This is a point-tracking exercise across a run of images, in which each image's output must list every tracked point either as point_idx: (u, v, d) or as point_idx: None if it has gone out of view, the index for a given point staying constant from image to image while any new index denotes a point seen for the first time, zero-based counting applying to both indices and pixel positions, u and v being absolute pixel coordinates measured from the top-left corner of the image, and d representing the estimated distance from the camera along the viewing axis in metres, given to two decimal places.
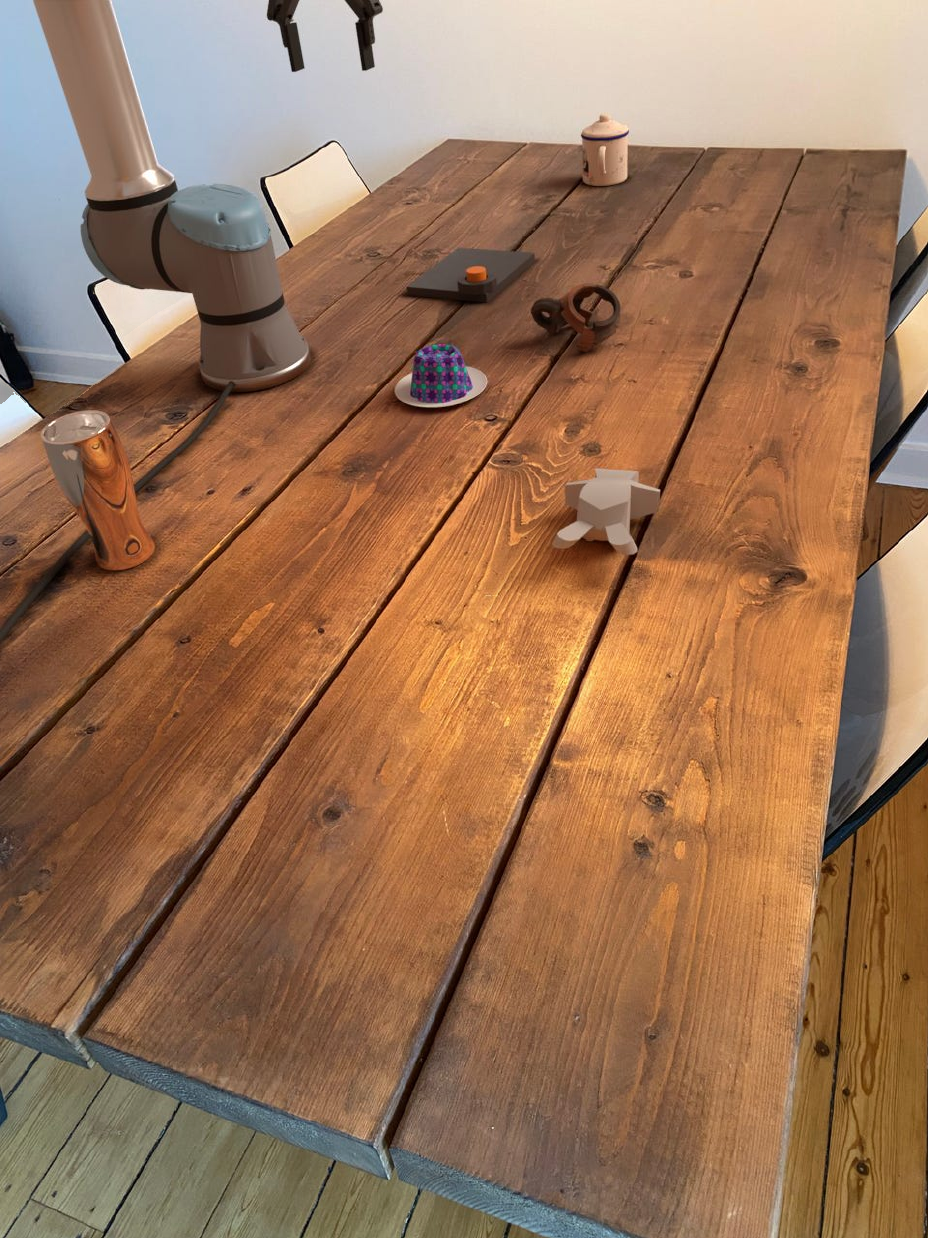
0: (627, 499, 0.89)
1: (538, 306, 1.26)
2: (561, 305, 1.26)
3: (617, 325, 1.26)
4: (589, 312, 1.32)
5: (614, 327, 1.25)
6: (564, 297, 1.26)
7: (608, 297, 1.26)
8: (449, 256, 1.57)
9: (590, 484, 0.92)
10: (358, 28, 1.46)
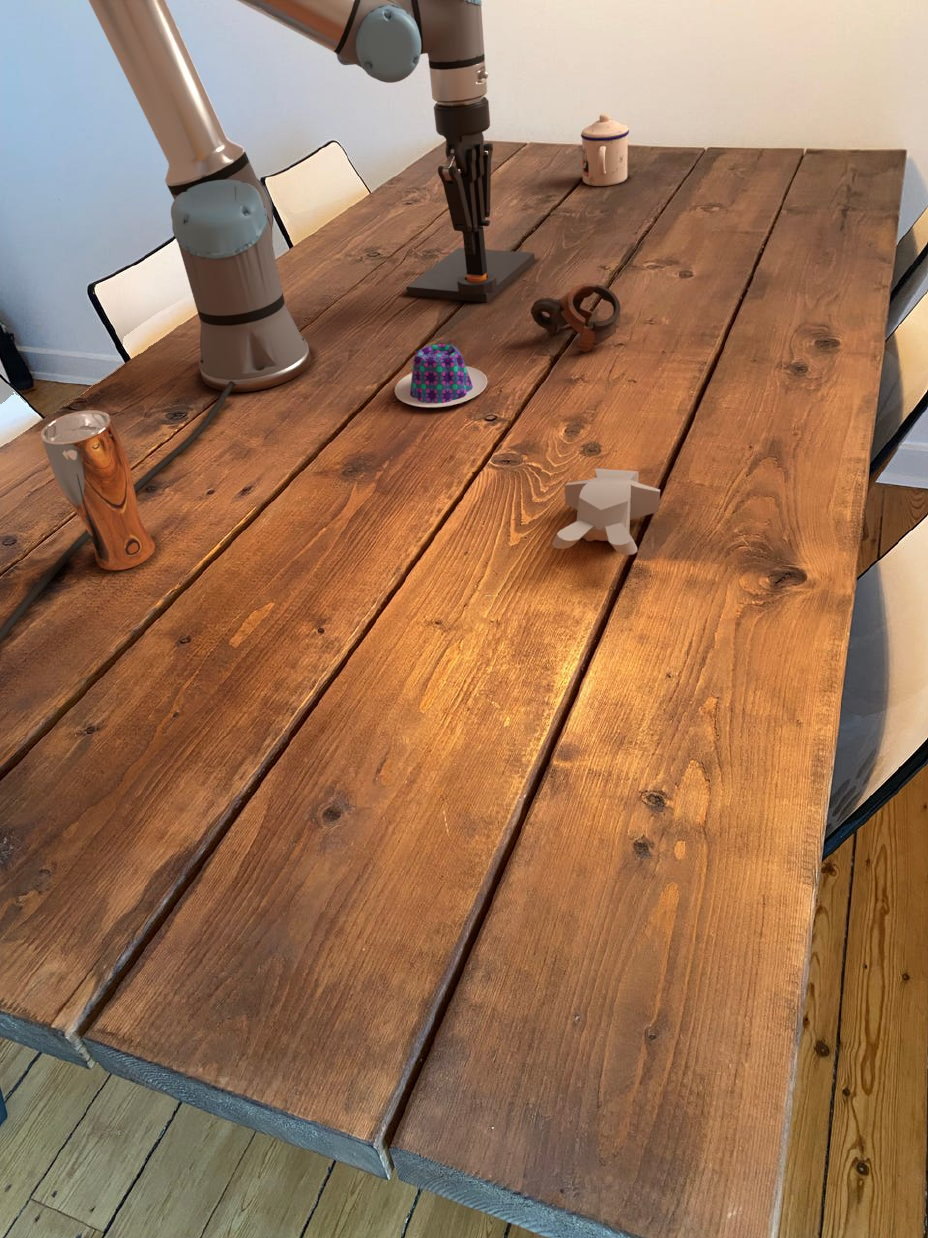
0: (627, 499, 0.89)
1: (538, 306, 1.26)
2: (561, 305, 1.26)
3: (617, 325, 1.26)
4: (589, 312, 1.32)
5: (614, 327, 1.25)
6: (564, 297, 1.26)
7: (608, 297, 1.26)
8: (449, 256, 1.57)
9: (590, 484, 0.92)
10: None
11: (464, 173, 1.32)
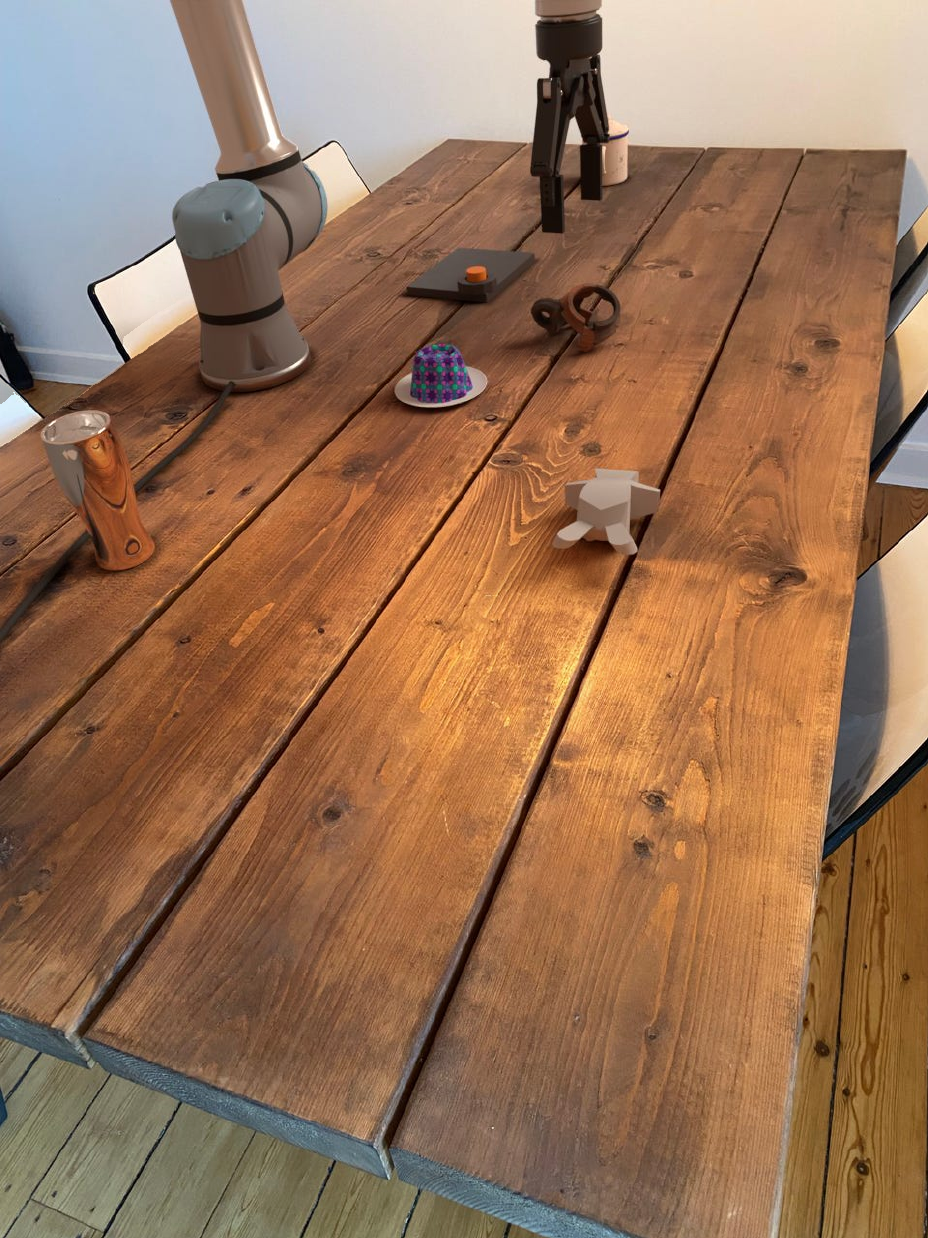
0: (627, 499, 0.89)
1: (538, 306, 1.26)
2: (561, 305, 1.26)
3: (617, 325, 1.26)
4: (589, 312, 1.32)
5: (614, 327, 1.25)
6: (564, 297, 1.26)
7: (608, 297, 1.26)
8: (449, 256, 1.57)
9: (590, 484, 0.92)
10: (540, 182, 1.12)
11: None
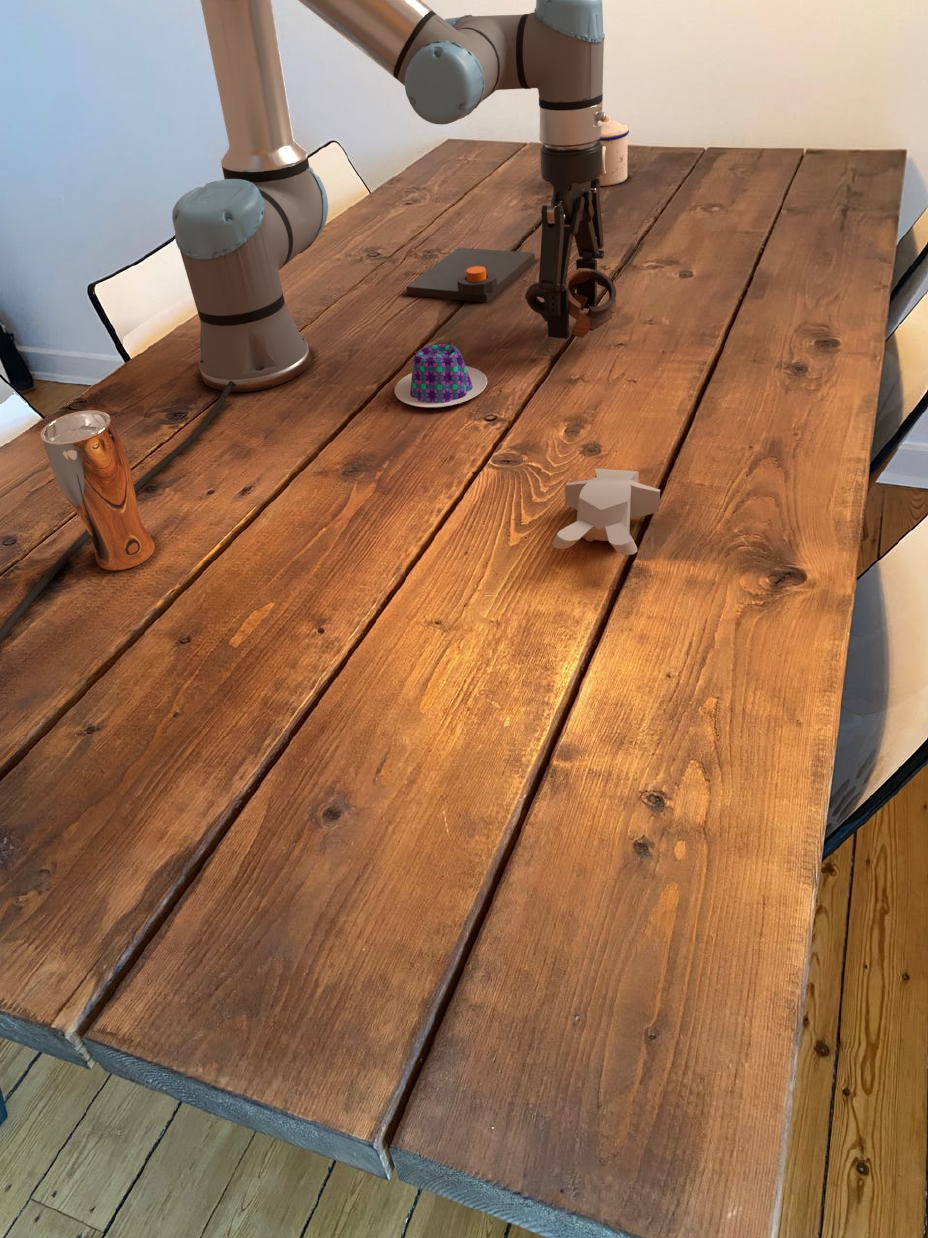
0: (627, 499, 0.89)
1: (533, 291, 1.25)
2: None
3: (612, 311, 1.24)
4: (584, 297, 1.30)
5: (610, 313, 1.24)
6: None
7: (604, 282, 1.25)
8: (449, 256, 1.57)
9: (590, 484, 0.92)
10: (547, 293, 1.22)
11: (570, 224, 1.18)
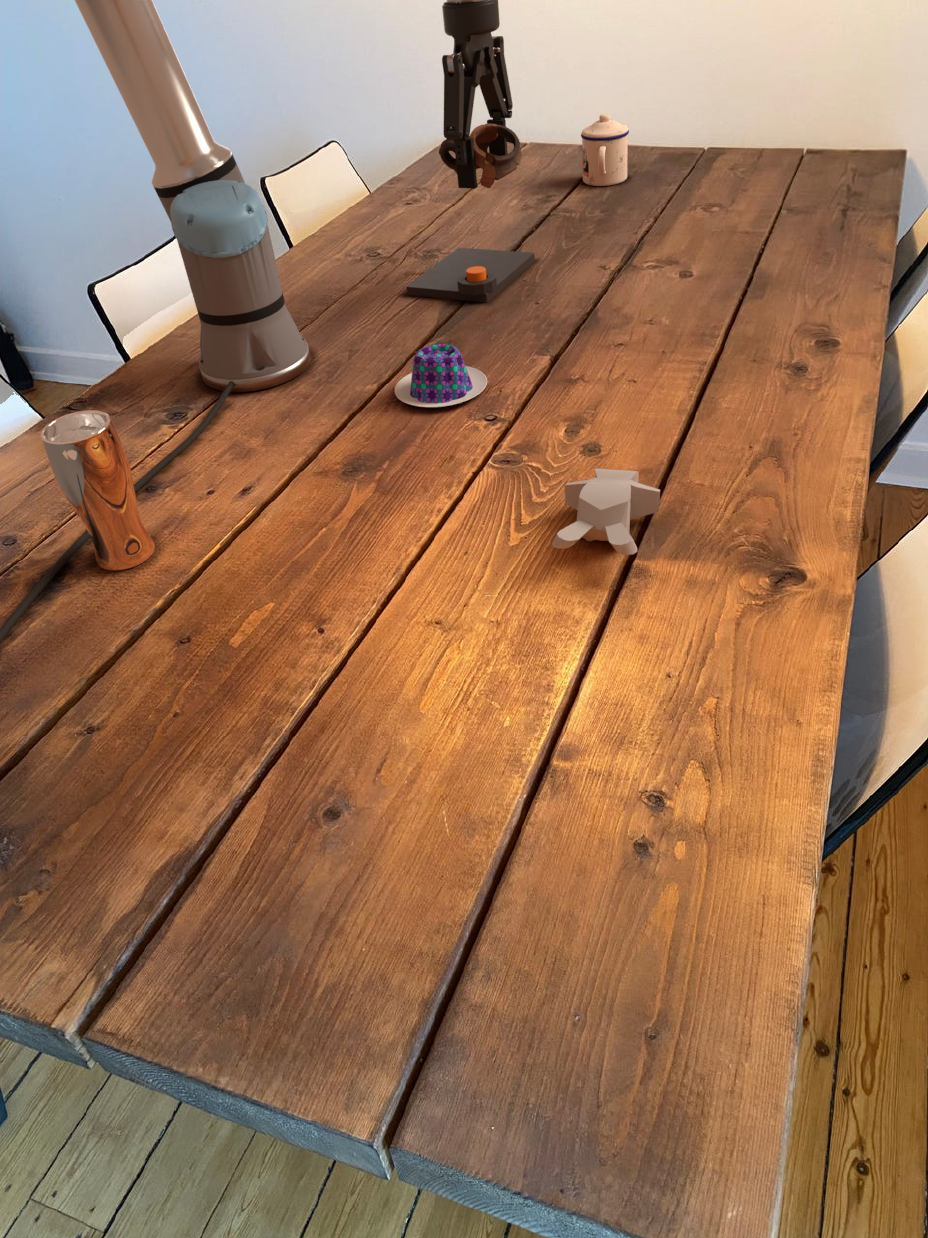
0: (627, 499, 0.89)
1: (444, 145, 1.36)
2: None
3: (517, 162, 1.36)
4: None
5: (514, 163, 1.35)
6: (469, 137, 1.36)
7: (509, 136, 1.36)
8: (449, 256, 1.57)
9: (590, 484, 0.92)
10: None
11: None
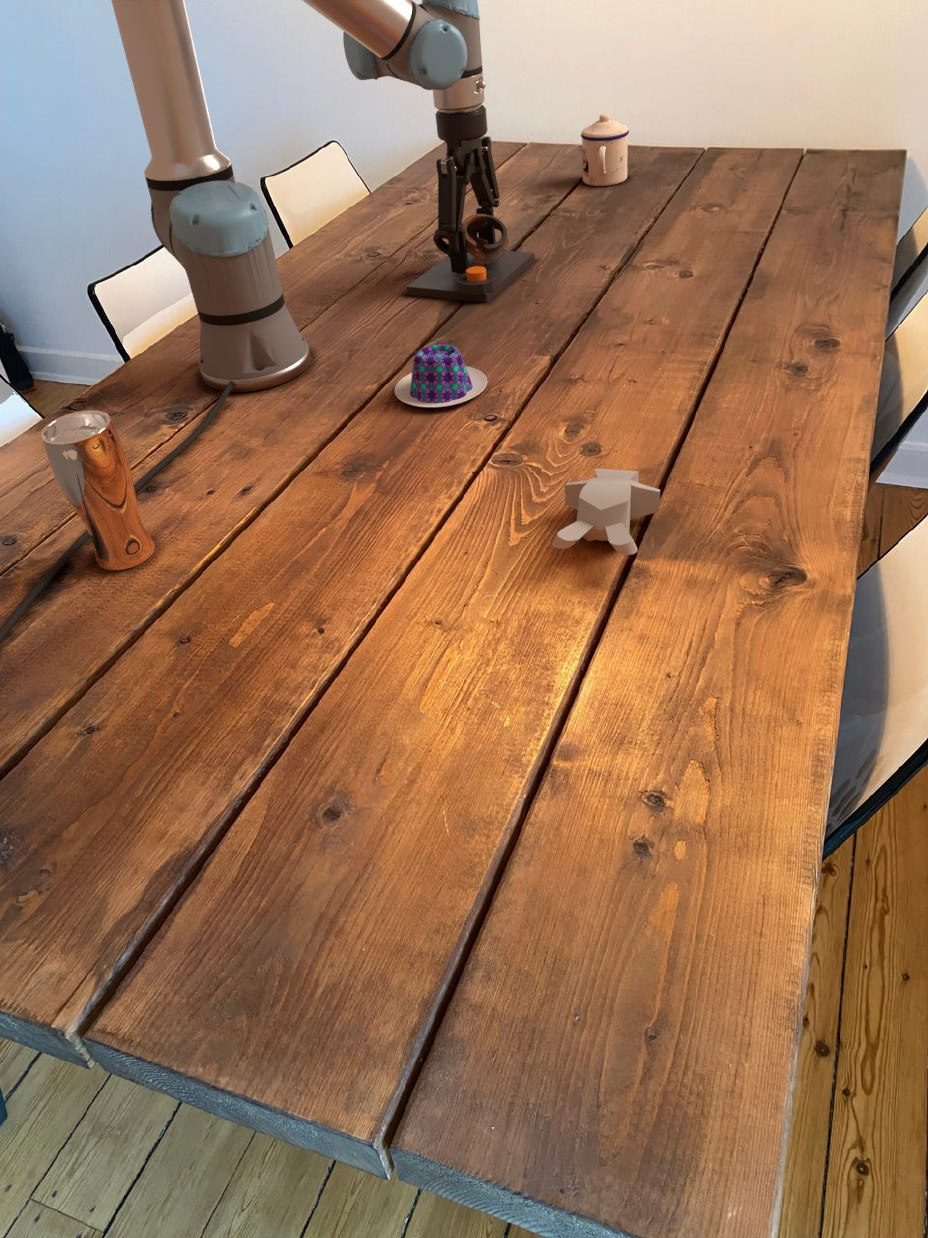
0: (627, 499, 0.89)
1: (438, 233, 1.49)
2: None
3: (505, 249, 1.49)
4: (485, 240, 1.55)
5: (502, 250, 1.49)
6: None
7: (497, 225, 1.49)
8: None
9: (590, 484, 0.92)
10: None
11: (463, 175, 1.43)
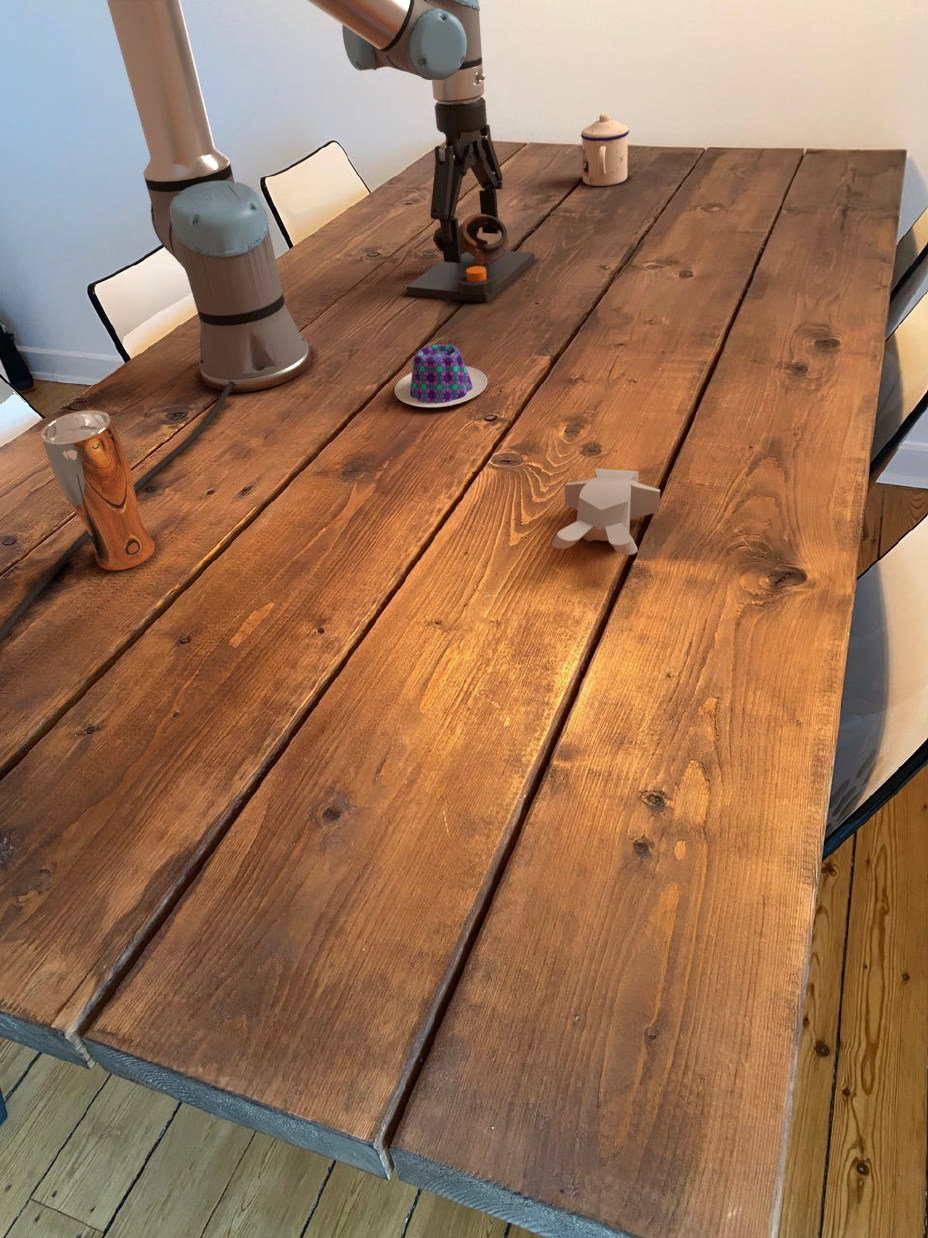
0: (627, 499, 0.89)
1: (438, 233, 1.49)
2: None
3: (505, 249, 1.49)
4: (485, 241, 1.55)
5: (502, 250, 1.49)
6: (460, 225, 1.50)
7: (497, 225, 1.49)
8: None
9: (590, 484, 0.92)
10: None
11: None
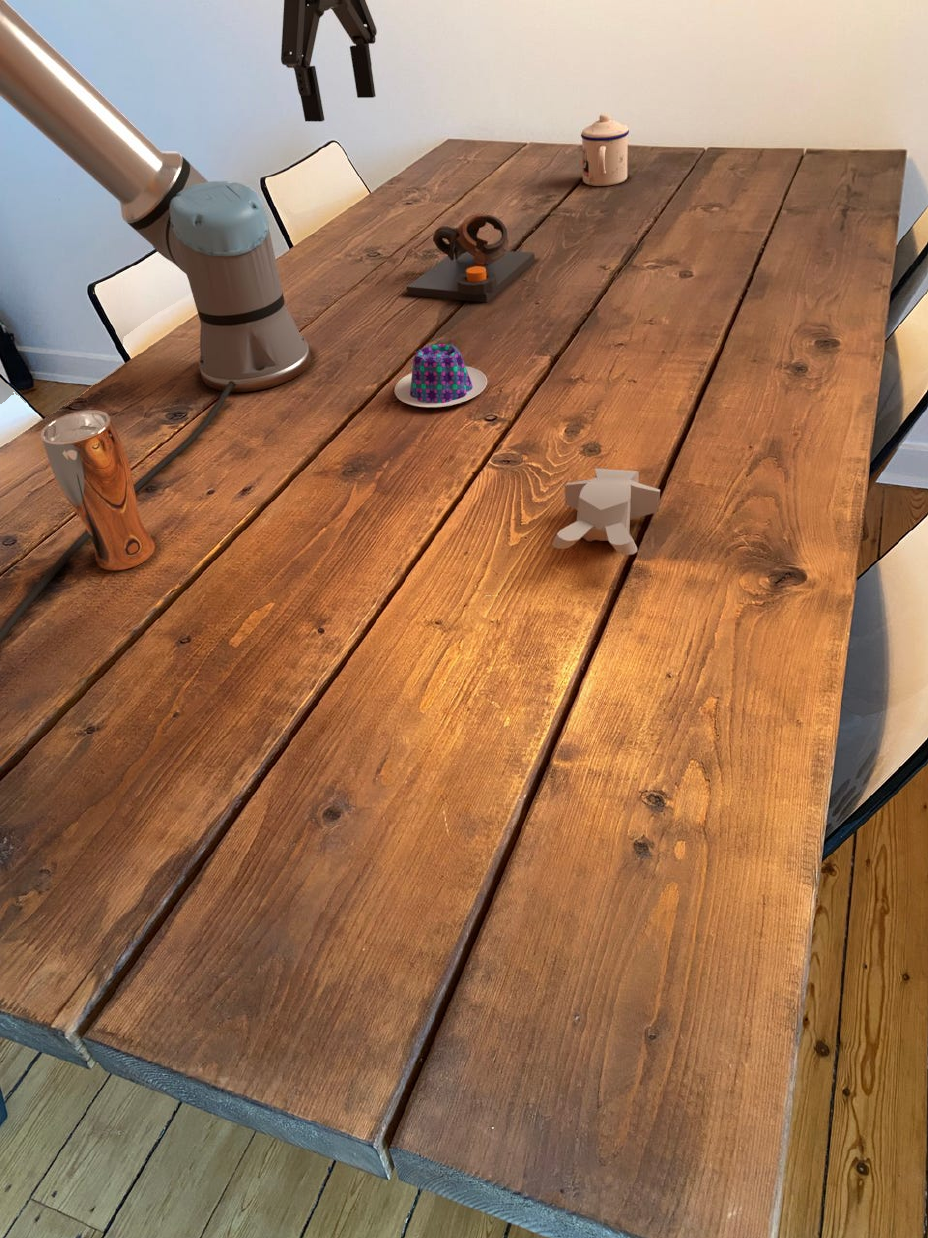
0: (627, 499, 0.89)
1: (438, 233, 1.49)
2: (457, 232, 1.49)
3: (505, 249, 1.49)
4: (485, 240, 1.55)
5: (502, 250, 1.49)
6: (460, 225, 1.50)
7: (497, 225, 1.49)
8: None
9: (590, 484, 0.92)
10: None
11: None
